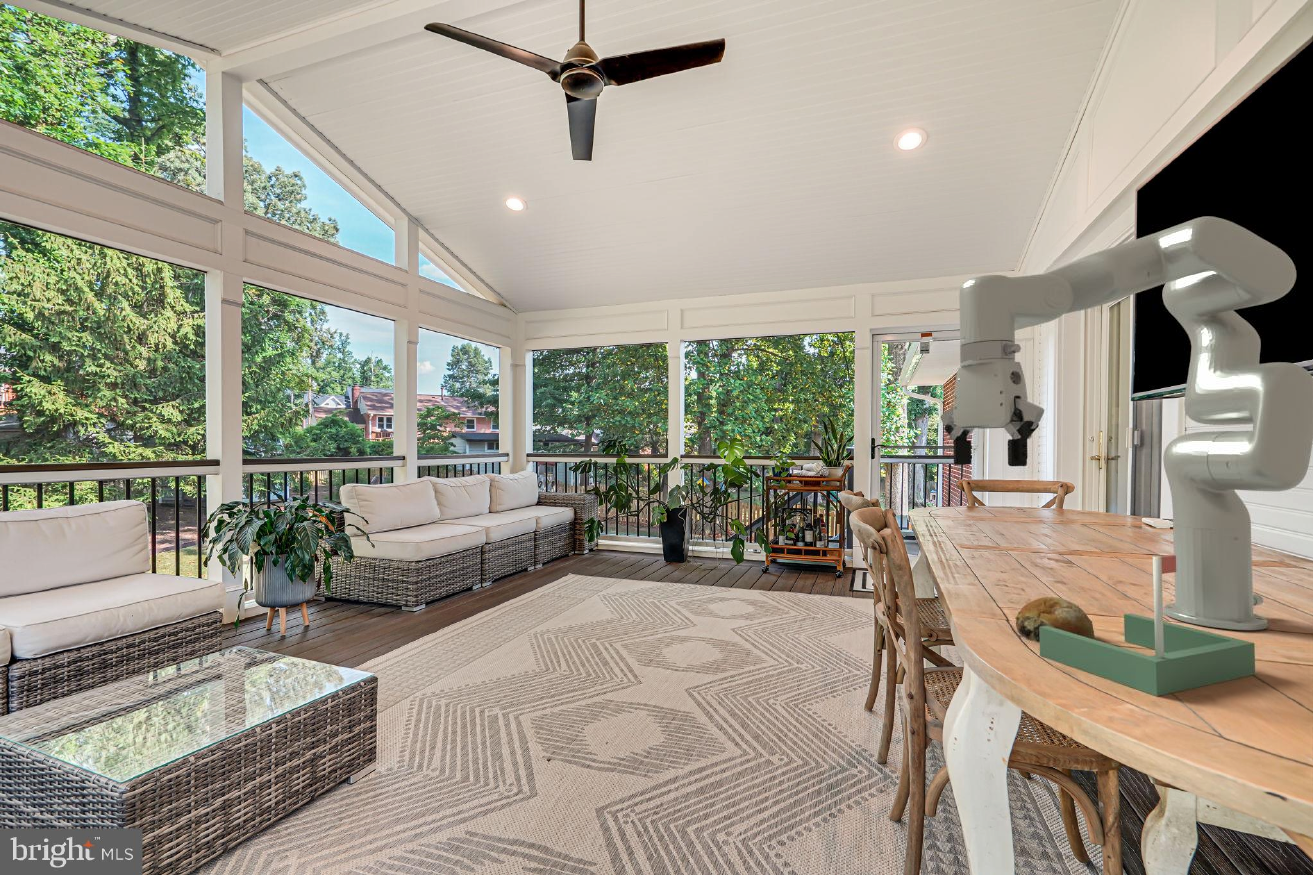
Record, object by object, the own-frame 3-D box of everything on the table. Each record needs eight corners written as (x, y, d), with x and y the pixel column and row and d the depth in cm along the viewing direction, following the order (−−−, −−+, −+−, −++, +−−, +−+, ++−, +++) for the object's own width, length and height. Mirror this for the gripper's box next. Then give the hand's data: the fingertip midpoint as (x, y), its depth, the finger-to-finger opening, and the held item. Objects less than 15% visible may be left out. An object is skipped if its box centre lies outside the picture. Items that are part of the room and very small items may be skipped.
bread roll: (1095, 675, 84) (1121, 626, 84) (1024, 640, 86) (1049, 592, 86) (1062, 651, 94) (1085, 607, 94) (999, 621, 96) (1021, 578, 96)
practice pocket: (1131, 639, 88) (1128, 534, 89) (1255, 674, 75) (1251, 549, 75) (1039, 655, 82) (1037, 541, 83) (1156, 696, 69) (1153, 559, 69)
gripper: (1058, 349, 85) (1060, 466, 85) (958, 365, 101) (960, 464, 101) (1021, 346, 82) (1023, 467, 82) (925, 363, 99) (926, 464, 98)
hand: (988, 465), depth 91 cm, fingers open, 9 cm apart
